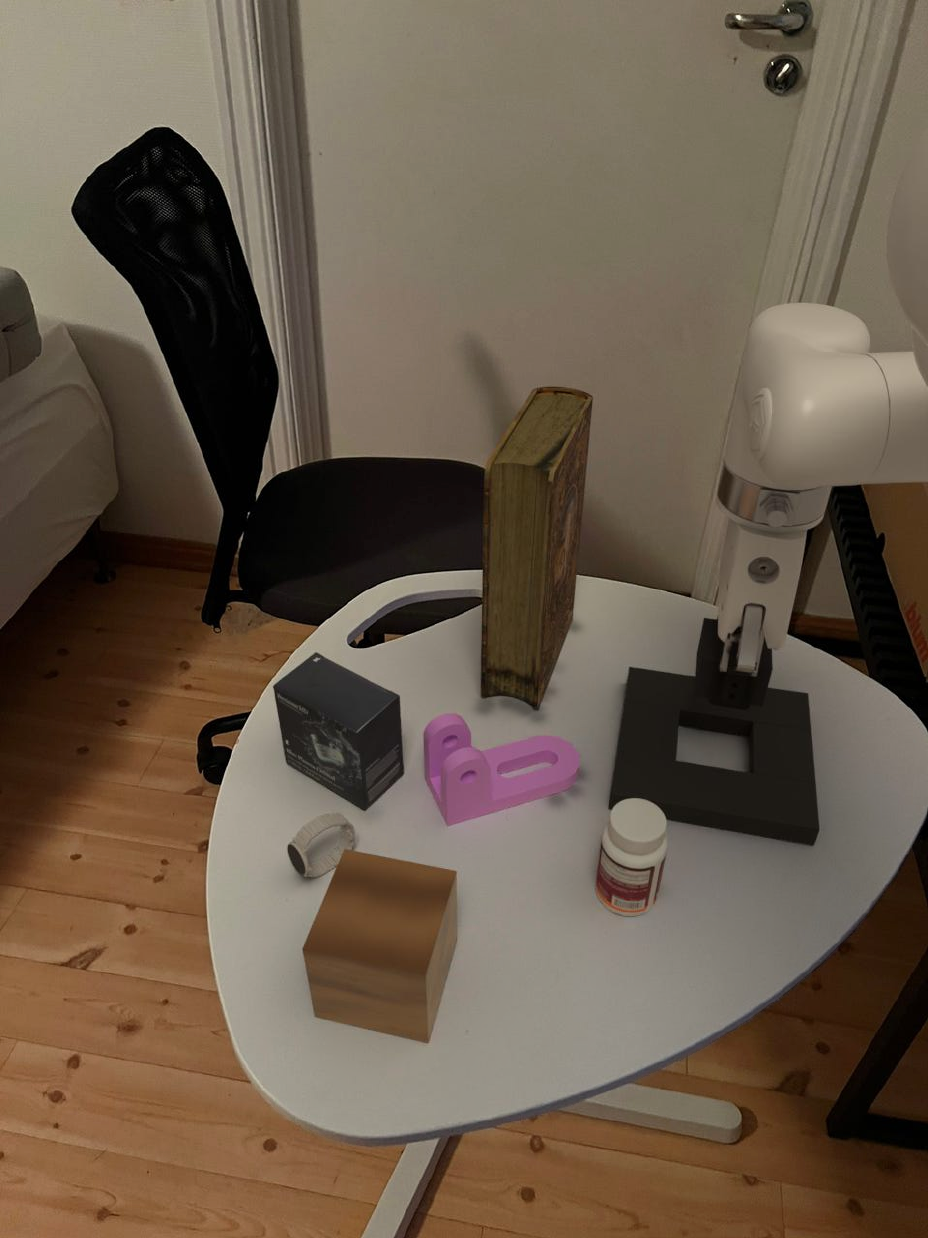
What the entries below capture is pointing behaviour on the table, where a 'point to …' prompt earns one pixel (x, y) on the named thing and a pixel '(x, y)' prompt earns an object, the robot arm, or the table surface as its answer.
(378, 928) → the wooden block
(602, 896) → the pill bottle
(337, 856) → the wristwatch
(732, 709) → the base pad
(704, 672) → the pad
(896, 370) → the robot arm
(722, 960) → the table surface
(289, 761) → the box
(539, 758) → the bracket
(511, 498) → the book
